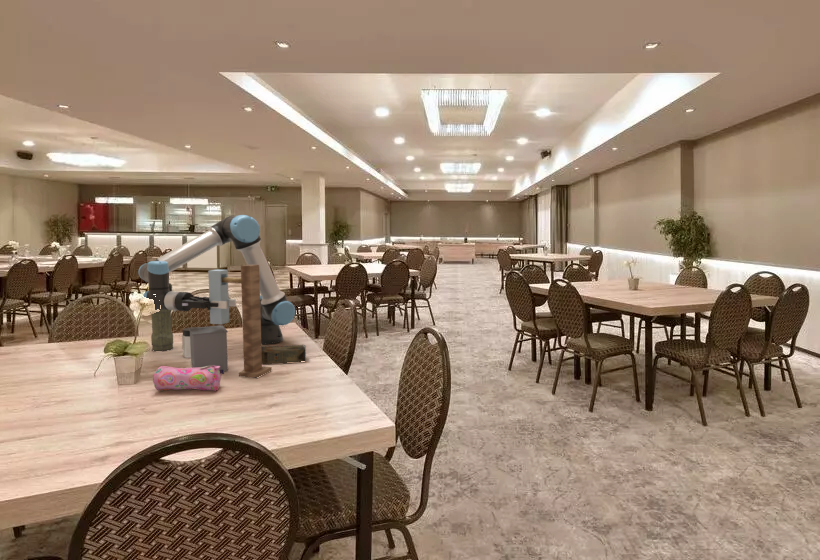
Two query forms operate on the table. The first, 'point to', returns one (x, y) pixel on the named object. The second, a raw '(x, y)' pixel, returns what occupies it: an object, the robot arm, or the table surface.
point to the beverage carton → (283, 354)
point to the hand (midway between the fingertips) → (231, 304)
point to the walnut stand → (250, 320)
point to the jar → (186, 342)
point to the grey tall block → (218, 296)
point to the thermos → (162, 329)
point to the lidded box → (209, 347)
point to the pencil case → (187, 378)
